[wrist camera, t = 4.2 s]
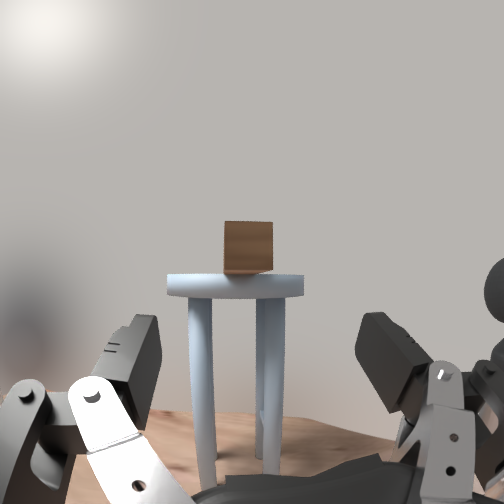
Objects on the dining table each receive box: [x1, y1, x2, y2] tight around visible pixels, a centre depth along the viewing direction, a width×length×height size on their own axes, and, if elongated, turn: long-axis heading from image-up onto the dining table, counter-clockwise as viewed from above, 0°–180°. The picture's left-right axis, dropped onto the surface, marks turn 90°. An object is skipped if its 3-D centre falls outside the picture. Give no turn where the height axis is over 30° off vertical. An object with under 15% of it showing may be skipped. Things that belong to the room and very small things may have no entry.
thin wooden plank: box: [224, 221, 273, 274], centre depth 31 cm, size 26×3×3 cm, turn 6°
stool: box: [167, 274, 304, 491], centre depth 35 cm, size 18×18×32 cm
